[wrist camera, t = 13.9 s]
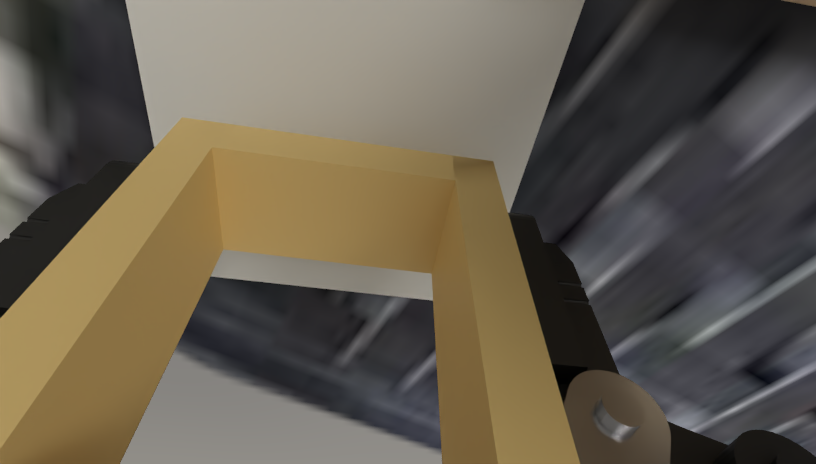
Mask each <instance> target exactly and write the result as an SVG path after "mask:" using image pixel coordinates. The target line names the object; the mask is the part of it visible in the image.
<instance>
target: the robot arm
mask: <svg viewBox="0 0 816 464" xmlns="http://www.w3.org/2000/svg"><path fill="white" fill-rule="evenodd" d="M138 166H139V164H138V163H130V162H122V161H111V162H109V163H108V164H106V165H105V166H104V167H103V168H102V169H101V170H100V171H99V172H98V173H97V174H96V175H95V176H94V177H93V178H92V179H91V180H90V181H89V182H88V183H87V184H77V185H75V186H73V187H70V188H68V189H66V190H64V191H62V192H60V193H58V194H56V195H54V196H52V197H50V198H48V199H47V200H46V201H45V202H44V203H43V204H42V205H41V206H40V207H39V208H37V209H36V210H35V211H34V212H33V213H32V214H31V215H30V216H29V217H28V221H27V222H22V223H21V224H20V225H19V226H18V227H17V228H16V229H15V230H14V231H13V232H11V233H10V238H9V239H6V238H5V239H4V240H3V241H2V242H1V243H0V318H1V317H2V316H3V315H4V314H5V313H6V312H7V310H8V309H9V308H10V307H11V306H12V305H13V304H14V303H15V302H16V301H17V299H18V298H19V297H20V296H21V295H22V294H23V293H24V292H25V291H26V289H27V288H28V287H29V286H30V285H31V284H32V283H33V282H34V281H35V280H36V278H37V277H38V276H39V275H40V274H41V273H42V272H43V271H44V270H45V268H46V267H47V266H48V265H49V264H50V263H51V262H52V261H53V260H54V258H55V257H56V256H57V255H58V254H59V253H60V252H61V251H62V250H63V249H64V247H65V246H66V245H67V244H68V243H69V242H70V241H71V240H72V239H73V237H74V236H75V235H76V234H77V233H78V232H79V231H80V230H81V229H82V228H83V226H84V225H85V224H86V223H87V222H88V221H89V220H90V219H91V218H92V216H93V215H94V214H95V213H96V212H97V211H98V210H99V209H100V208H101V206H102V205H103V204H104V203H105V202H106V201H107V200H108V199H109V198H110V197H111V195H112V194H113V193H114V192H115V191H116V190H117V189H118V188H119V187H120V185H121V184H122V183H123V182H124V181H125V180H126V179H127V178H128V177H129V176H130V174H131V173H132V172H133V171H134V170H135V169H136V168H137V167H138ZM508 215H509V218H510V221H511V225H512V228H513V232H514V235H515V239H516V242H517V246H518V249H519V253H520V256H521V260H522V263H523V267H524V270H525V274H526V277H527V280H528V284H529V287H530V291H531V294H532V298H533V301H534V305H535V308H536V312H537V315H538V319H539V322H540V326H541V329H542V333H543V336H544V340H545V343H546V346H547V350H548V353H549V357H550V360H551V364H552V367H553V371H554V374H555V378H556V381H557V385H558V388H559V392H560V395H561V399H562V402H563V406H564V409H565V412H566V416H567V419H568V423H569V426H570V430H571V433H572V437H573V440H574V444H575V447H576V451H577V454H578V458H579V461H580V464H816V457H815V456H814V455H812V454H811V453H810V452H808V451H807V450H806V449H804V448H803V447H801V446H800V445H798V444H797V443H795V442H793V441H792V440H790V439H787V438H785V437H783V436H781V435H778V434H776V433H773V432H769V431H764V430H750V431H747V432H744V433H742V434H741V435H740V436H739V437H738V438H737V439H736V440H734V441H733V442H732V443H731V444H730V445H726V444H723V443H721V442H718V441H716V440H713V439H711V438H708V437H705V436H703V435H700V434H698V433H695V432H692V431H690V430H687V429H685V428H682V427H680V426H677V425H675V424H673V423H670V422H668V421H667V419H666V417H665V415H664V413H663V412H662V410H661V408H660V407H659V405H658V404H657V403H656V402H655V400H654V399H653V398H652V397H651V396H650V395H649V394H648V393H647V392H646V391H645V390H643V389H642V388H641V387H640V386H638V385H637V384H636V383H634V382H633V381H631V380H629V379H627V378H625V377H624V376H621V375H620V374H619V372H618V370H617V368H616V365H615V363H614V360H613V358H612V356H611V353H610V351H609V348H608V346H607V344H606V341H605V339H604V336H603V334H602V331H601V329H600V327H599V324H598V322H597V319H596V317H595V315H594V312H593V310H592V307H591V305H588V302H589V300H588V298H587V295H586V293H585V291H584V288H581V284H582V283H581V281H580V279H579V276H578V274H577V271H576V269H575V267H574V264H573V262H572V261H571V260H570V259H569V258H568V257H567V256H566V255H565V254H564V253H563V252H562V250H561V249H560V248H559V247H558V246H557V245H556V244H552V243H544V242H543V240H542V237H541V234H540V231H539V229H538V226H537V223H536V220H535V218H534V217H533V216H531V215H524V214H516V213H508Z"/></svg>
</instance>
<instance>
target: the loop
mask: <svg viewBox="0 0 816 464" xmlns="http://www.w3.org/2000/svg"><path fill="white" fill-rule="evenodd" d="M223 250H232V251H240V252H249V253H258V254H266V255H275V256H284V257H292V258H301V259H309V260H318V261H327V262H335V263H344V264H352V265H361V266H370V267H378V268H387V269H395V270H404V271H413V272H421V273H430V274H432V290H433V308H434V325H435V343H436V360H437V378H438V396H439V413H440V431H441V448H442V464H580V461H579V458H578V454H577V451H576V447H575V444H574V440H573V437H572V433H571V430H570V426H569V423H568V419H567V416H566V412H565V409H564V406H563V402H562V399H561V395H560V392H559V388H558V385H557V381H556V378H555V374H554V371H553V367H552V364H551V360H550V357H549V353H548V350H547V346H546V343H545V340H544V336H543V333H542V329H541V326H540V322H539V319H538V315H537V312H536V308H535V305H534V301H533V298H532V294H531V291H530V287H529V284H528V280H527V277H526V274H525V270H524V267H523V263H522V260H521V256H520V253H519V249H518V246H517V242H516V239H515V235H514V232H513V228H512V225H511V221H510V218H509V215H508V211H507V208H506V204H505V201H504V197H503V194H502V190H501V187H500V183H499V180H498V176H497V173H496V169H495V166H494V162H493V161H489V160H482V159H475V158H467V157H460V156H453V155H446V154H439V153H432V152H425V151H418V150H411V149H404V148H397V147H389V146H382V145H375V144H368V143H361V142H354V141H347V140H340V139H333V138H326V137H319V136H312V135H304V134H297V133H290V132H283V131H276V130H269V129H262V128H255V127H248V126H241V125H234V124H226V123H219V122H212V121H205V120H198V119H191V118H184V117H182V118H181V119H180V120H179V121H178V122H177V124H176V125H175V126H174V127H173V128H172V129H171V130H170V131H169V132H168V133H167V135H166V136H165V137H164V138H163V139H162V140H161V141H160V142H159V143H158V145H157V146H156V147H155V148H154V149H153V150H152V151H151V152H150V153H149V154H148V156H147V157H146V158H145V159H144V160H143V161H142V162H141V163H140V164H139V166H138V167H137V168H136V169H135V170H134V171H133V172H132V173H131V174H130V176H129V177H128V178H127V179H126V180H125V181H124V182H123V183H122V184H121V185H120V187H119V188H118V189H117V190H116V191H115V192H114V193H113V194H112V195H111V197H110V198H109V199H108V200H107V201H106V202H105V203H104V204H103V205H102V206H101V208H100V209H99V210H98V211H97V212H96V213H95V214H94V215H93V216H92V218H91V219H90V220H89V221H88V222H87V223H86V224H85V225H84V226H83V228H82V229H81V230H80V231H79V232H78V233H77V234H76V235H75V236H74V237H73V239H72V240H71V241H70V242H69V243H68V244H67V245H66V246H65V247H64V249H63V250H62V251H61V252H60V253H59V254H58V255H57V256H56V257H55V258H54V260H53V261H52V262H51V263H50V264H49V265H48V266H47V267H46V268H45V270H44V271H43V272H42V273H41V274H40V275H39V276H38V277H37V278H36V280H35V281H34V282H33V283H32V284H31V285H30V286H29V287H28V288H27V289H26V291H25V292H24V293H23V294H22V295H21V296H20V297H19V298H18V299H17V301H16V302H15V303H14V304H13V305H12V306H11V307H10V308H9V309H8V310H7V312H6V313H5V314H4V315H3V316H2V317H1V318H0V464H120V462H121V460H122V458H123V456H124V454H125V452H126V449H127V448H128V446H129V443H130V441H131V439H132V437H133V435H134V433H135V431H136V429H137V427H138V425H139V423H140V421H141V419H142V416H143V414H144V412H145V410H146V408H147V406H148V404H149V402H150V400H151V398H152V396H153V394H154V392H155V390H156V388H157V386H158V384H159V381H160V379H161V377H162V375H163V373H164V371H165V369H166V367H167V365H168V363H169V361H170V359H171V357H172V355H173V353H174V350H175V348H176V346H177V344H178V342H179V340H180V338H181V336H182V334H183V332H184V330H185V328H186V326H187V324H188V322H189V319H190V317H191V315H192V313H193V311H194V309H195V307H196V305H197V303H198V301H199V299H200V297H201V295H202V293H203V291H204V288H205V286H206V284H207V282H208V280H209V278H210V276H211V274H212V272H213V270H214V268H215V266H216V264H217V262H218V260H219V257H220V255H221V253H222V251H223Z"/></svg>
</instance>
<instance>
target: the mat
mask: <svg viewBox="0 0 816 464" xmlns="http://www.w3.org/2000/svg"><path fill="white" fill-rule="evenodd" d="M584 2H585V0H126V5H127V10H128V16H129V21H130V26H131V31H132V36H133V41H134V46H135V51H136V56H137V62H138V67H139V72H140V77H141V82H142V87H143V92H144V97H145V102H146V107H147V113H148V118H149V123H150V128H151V133H152V138H153V143H154V148H155V147H156V146H157V145H158V143H159V142H160V141H161V140H162V139H163V138H164V137H165V136H166V135H167V133H168V132H169V131H170V130H171V129H172V128H173V127H174V126H175V125H176V124H177V122H178V121H179V120H180V119H181V118H182V117H184V118H191V119H198V120H205V121H212V122H219V123H226V124H234V125H241V126H248V127H255V128H262V129H269V130H276V131H283V132H290V133H297V134H304V135H312V136H319V137H326V138H333V139H340V140H347V141H354V142H361V143H368V144H375V145H382V146H389V147H397V148H404V149H411V150H418V151H425V152H432V153H439V154H446V155H453V156H460V157H467V158H475V159H482V160H489V161H493V162H494V166H495V169H496V173H497V176H498V180H499V183H500V187H501V190H502V194H503V197H504V201H505V204H506V208H507V211H508V213H510V210H511V207H512V204H513V201H514V199H515V196H516V193H517V190H518V187H519V185H520V182H521V179H522V176H523V173H524V170H525V168H526V165H527V162H528V159H529V156H530V154H531V151H532V148H533V145H534V142H535V139H536V137H537V134H538V131H539V128H540V125H541V123H542V120H543V117H544V114H545V111H546V109H547V106H548V103H549V100H550V97H551V94H552V92H553V89H554V86H555V83H556V80H557V78H558V75H559V72H560V69H561V66H562V63H563V61H564V58H565V55H566V52H567V49H568V47H569V44H570V41H571V38H572V35H573V32H574V30H575V27H576V24H577V21H578V18H579V16H580V13H581V10H582V7H583V4H584ZM211 276H212V277H221V278H230V279H239V280H249V281H258V282H267V283H276V284H285V285H295V286H304V287H313V288H322V289H331V290H341V291H350V292H359V293H368V294H377V295H387V296H396V297H405V298H414V299H423V300H432V301H433V290H432V274H430V273H421V272H413V271H404V270H395V269H387V268H378V267H370V266H361V265H352V264H344V263H335V262H327V261H318V260H309V259H301V258H292V257H284V256H275V255H266V254H258V253H249V252H240V251H232V250H223V251H222V253H221V255H220V257H219V260H218V262H217V264H216V266H215V268H214V270H213V272H212V274H211Z"/></svg>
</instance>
